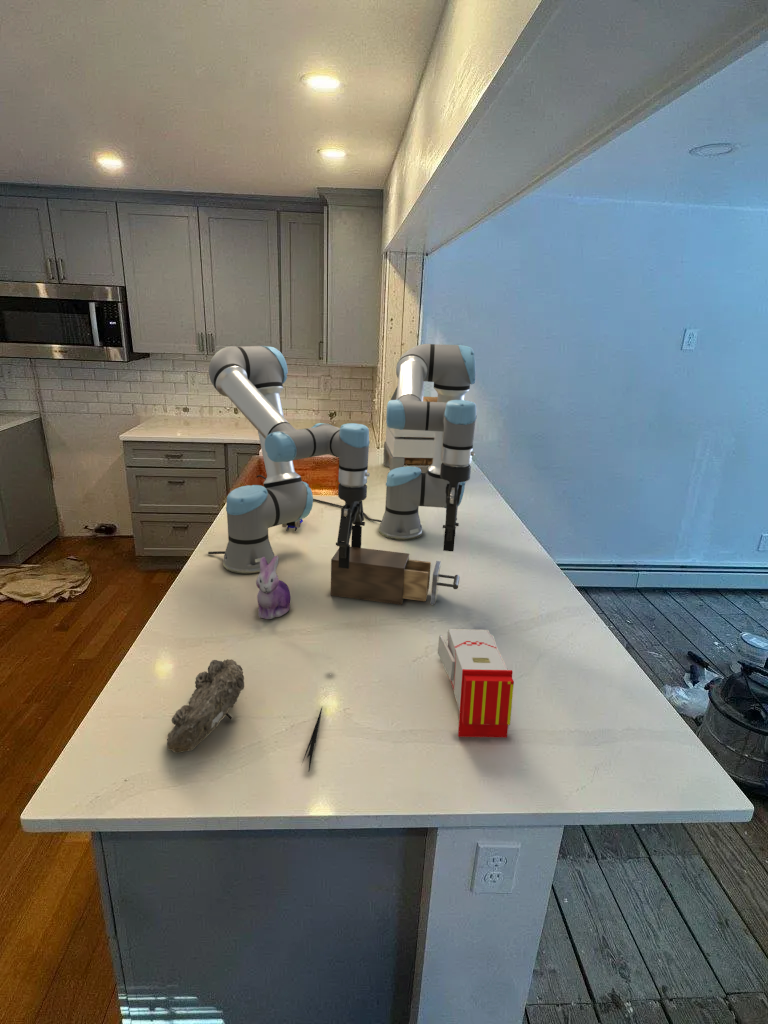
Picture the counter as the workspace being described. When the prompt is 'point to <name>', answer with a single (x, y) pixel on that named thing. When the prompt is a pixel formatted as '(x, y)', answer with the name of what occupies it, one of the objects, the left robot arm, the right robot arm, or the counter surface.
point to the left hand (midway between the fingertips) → (350, 557)
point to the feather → (313, 740)
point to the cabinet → (370, 575)
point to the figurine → (271, 591)
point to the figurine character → (292, 525)
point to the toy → (478, 682)
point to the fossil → (206, 705)
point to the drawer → (424, 580)
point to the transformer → (408, 445)
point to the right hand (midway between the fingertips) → (448, 550)
